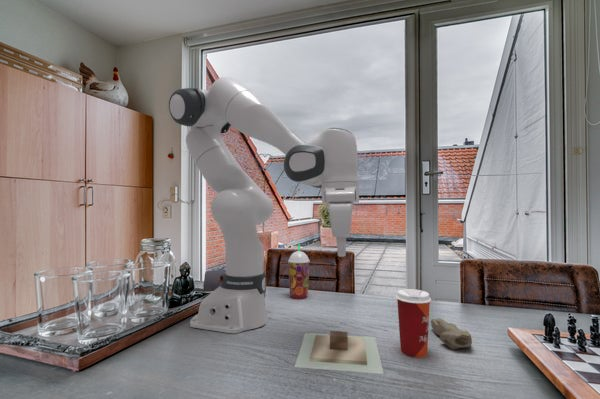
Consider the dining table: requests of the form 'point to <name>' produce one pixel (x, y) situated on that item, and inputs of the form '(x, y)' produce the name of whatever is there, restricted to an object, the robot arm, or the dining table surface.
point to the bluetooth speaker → (212, 279)
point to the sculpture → (451, 334)
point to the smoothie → (298, 274)
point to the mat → (371, 366)
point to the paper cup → (413, 321)
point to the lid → (339, 349)
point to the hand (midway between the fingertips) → (341, 253)
